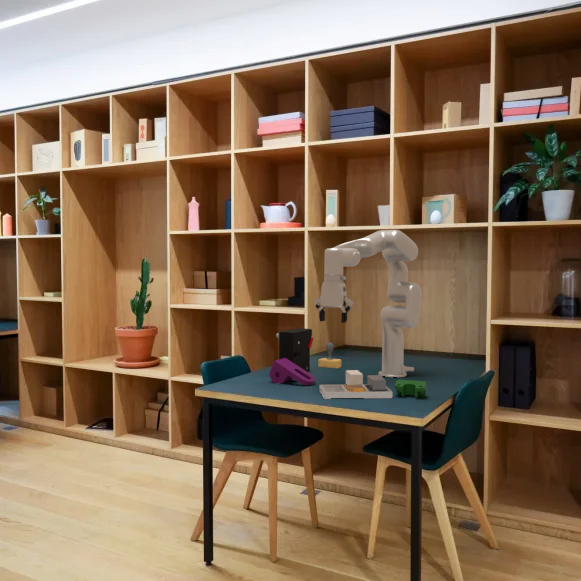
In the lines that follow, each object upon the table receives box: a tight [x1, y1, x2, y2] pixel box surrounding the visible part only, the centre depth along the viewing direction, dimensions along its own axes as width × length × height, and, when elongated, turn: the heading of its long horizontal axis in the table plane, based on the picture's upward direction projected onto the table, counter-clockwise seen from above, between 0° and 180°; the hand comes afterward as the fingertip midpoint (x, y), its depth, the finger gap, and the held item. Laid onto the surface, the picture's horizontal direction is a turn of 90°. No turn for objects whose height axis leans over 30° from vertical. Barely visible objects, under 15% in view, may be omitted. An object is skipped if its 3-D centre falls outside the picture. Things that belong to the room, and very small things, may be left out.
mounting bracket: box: [269, 358, 316, 387], centre depth 262 cm, size 9×8×18 cm
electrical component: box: [276, 327, 314, 373], centre depth 282 cm, size 18×10×20 cm, turn 150°
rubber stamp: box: [317, 342, 342, 369], centre depth 302 cm, size 10×6×12 cm, turn 62°
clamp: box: [394, 379, 427, 399], centre depth 237 cm, size 12×6×9 cm, turn 64°
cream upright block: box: [345, 369, 364, 385], centre depth 255 cm, size 10×5×6 cm, turn 6°
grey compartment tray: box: [318, 374, 393, 400], centre depth 240 cm, size 26×14×6 cm, turn 95°
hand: (333, 321), depth 248 cm, fingers open, 9 cm apart
